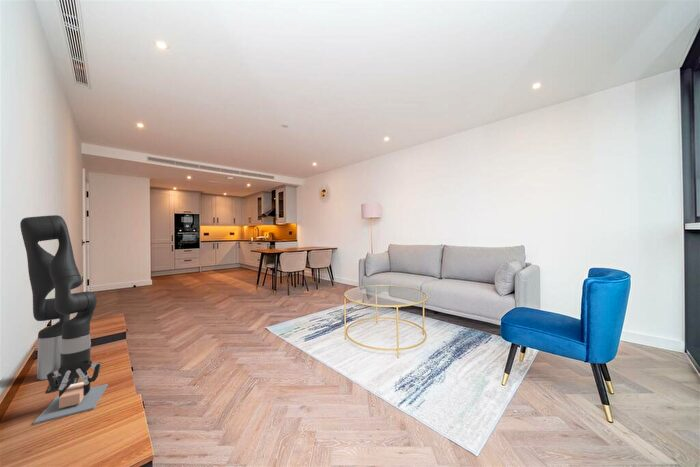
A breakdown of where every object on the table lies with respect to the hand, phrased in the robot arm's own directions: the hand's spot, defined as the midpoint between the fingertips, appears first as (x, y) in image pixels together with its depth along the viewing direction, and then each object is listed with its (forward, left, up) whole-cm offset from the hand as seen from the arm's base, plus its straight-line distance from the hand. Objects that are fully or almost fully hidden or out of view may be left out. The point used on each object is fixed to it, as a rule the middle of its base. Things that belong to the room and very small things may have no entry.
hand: (75, 396), depth 94 cm
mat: (0, 0, -2) cm, 2 cm away
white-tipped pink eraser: (0, 0, -1) cm, 1 cm away
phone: (-22, -9, -3) cm, 24 cm away
